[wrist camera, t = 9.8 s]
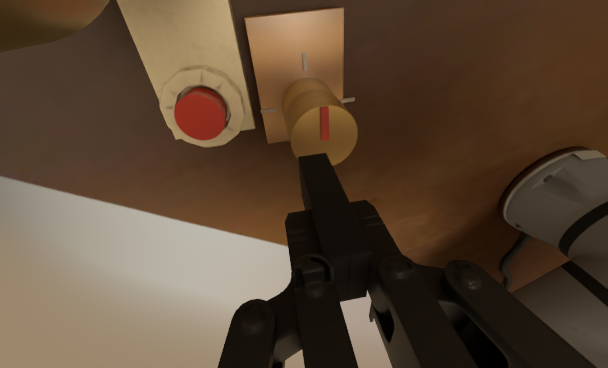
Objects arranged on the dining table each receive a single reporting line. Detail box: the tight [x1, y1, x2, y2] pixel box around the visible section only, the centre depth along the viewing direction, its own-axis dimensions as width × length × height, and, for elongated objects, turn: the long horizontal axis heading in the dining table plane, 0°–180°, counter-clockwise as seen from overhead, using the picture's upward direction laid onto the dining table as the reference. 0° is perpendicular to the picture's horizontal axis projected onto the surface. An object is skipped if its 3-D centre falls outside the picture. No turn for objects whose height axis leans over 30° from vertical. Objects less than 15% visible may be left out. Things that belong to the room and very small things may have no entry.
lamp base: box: [117, 0, 255, 147], centre depth 21 cm, size 16×8×4 cm, turn 5°
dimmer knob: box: [282, 78, 358, 166], centre depth 21 cm, size 5×5×8 cm
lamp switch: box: [174, 88, 227, 140], centre depth 22 cm, size 4×4×2 cm
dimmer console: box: [244, 7, 355, 144], centre depth 25 cm, size 12×9×3 cm
